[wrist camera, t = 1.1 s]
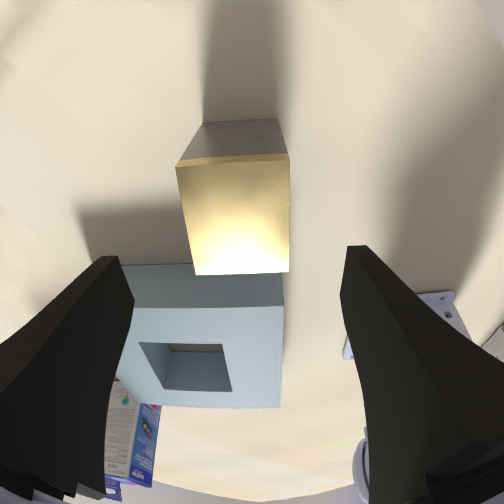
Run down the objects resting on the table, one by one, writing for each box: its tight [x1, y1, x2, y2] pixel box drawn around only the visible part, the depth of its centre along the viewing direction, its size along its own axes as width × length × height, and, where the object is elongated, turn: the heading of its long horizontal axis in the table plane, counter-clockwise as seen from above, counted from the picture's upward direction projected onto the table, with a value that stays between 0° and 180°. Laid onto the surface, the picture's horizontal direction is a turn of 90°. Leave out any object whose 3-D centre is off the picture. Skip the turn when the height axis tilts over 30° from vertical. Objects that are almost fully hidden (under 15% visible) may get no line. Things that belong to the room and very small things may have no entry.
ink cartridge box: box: [104, 381, 162, 502], centre depth 28 cm, size 10×6×14 cm, turn 104°
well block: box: [116, 264, 284, 409], centre depth 24 cm, size 14×14×4 cm
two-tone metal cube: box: [175, 119, 290, 275], centre depth 15 cm, size 4×5×6 cm
